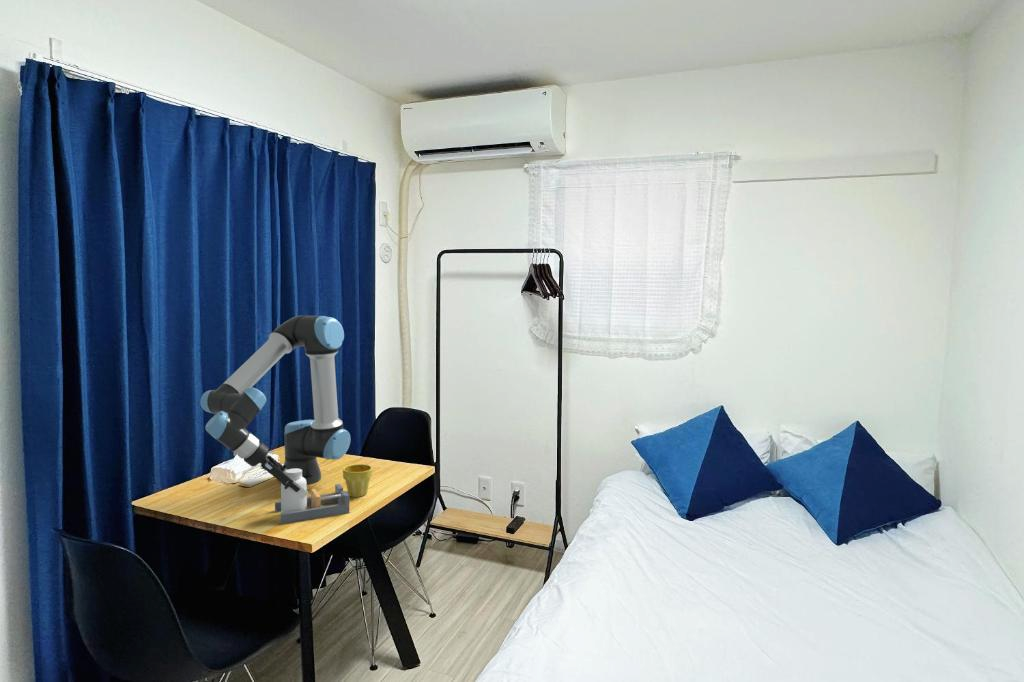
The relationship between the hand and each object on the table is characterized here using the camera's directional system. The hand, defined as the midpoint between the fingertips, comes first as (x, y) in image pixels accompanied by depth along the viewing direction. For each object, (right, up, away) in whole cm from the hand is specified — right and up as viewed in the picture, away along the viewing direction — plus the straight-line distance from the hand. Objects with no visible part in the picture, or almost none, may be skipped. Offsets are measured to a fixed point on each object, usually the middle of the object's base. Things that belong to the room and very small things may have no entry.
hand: (301, 489), depth 195 cm
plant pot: (+13, -7, +20) cm, 25 cm away
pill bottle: (-2, -8, -1) cm, 9 cm away
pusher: (+8, -8, +5) cm, 12 cm away
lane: (+2, -8, +2) cm, 9 cm away
